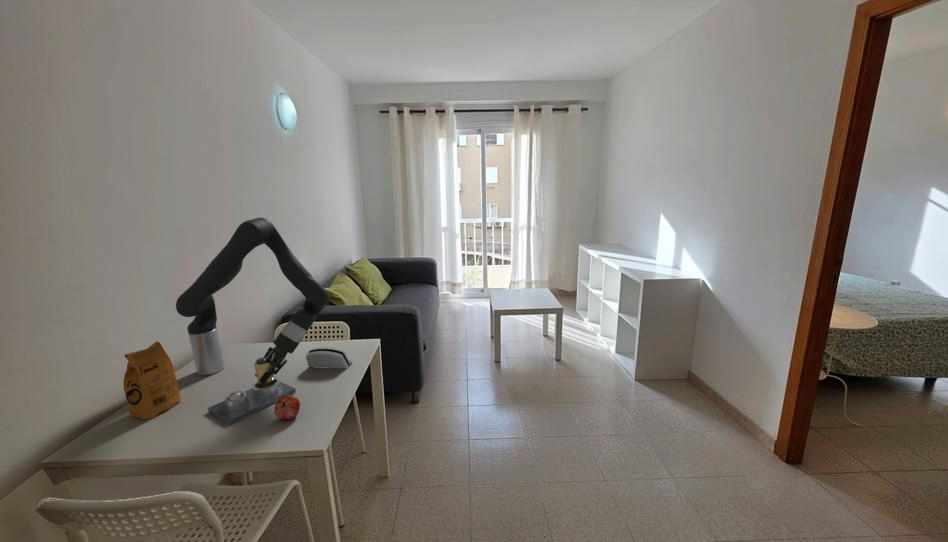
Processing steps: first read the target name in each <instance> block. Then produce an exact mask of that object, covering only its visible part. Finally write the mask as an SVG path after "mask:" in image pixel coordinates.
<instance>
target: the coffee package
mask: <svg viewBox="0 0 948 542" xmlns="http://www.w3.org/2000/svg"><path fill="white" fill-rule="evenodd" d="M124 358H125V359H126V360H127V361H128V362H127V363H126V364H127V365H126V370H125V372H124V377H123V380H122V382H123V391H124V395H125V399H126V401H127V402H126V403H127V408H128V411H129V415H131V417H133V418H138V419H142V420H151V419H153V418H156V417H157V416H158V415H159V414H160V413H163V412H166V411H169V410H171V409H172V408H173V407H175V406H176V405H177V404H178V403H180V402H181V395H180V390H179V386H178V385H179V384H178V380H177V375H176V373H175V369H174V365H173V363H172V360H171V357H169V355H168V353H167V352H166V351H165V349H164V347H163V346H162V344H161V342H160V341H156V342H155V341H154V342H153V344H151V345H149V346H148V347H147V348H145V349H142V350H138V351H132V352H129V353H125V354H124Z"/></svg>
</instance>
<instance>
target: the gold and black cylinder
mask: <svg viewBox="0 0 948 542" xmlns="http://www.w3.org/2000/svg"><path fill="white" fill-rule="evenodd" d="M269 361H270V359H268V358H267V357H264V356H263V357H260V358H257V359H256V360H255V363H254V370H255V374H256V376H257V377H256V376H255V377H256V381H257V382H258V387H259V388H266V387H270V386H272V385H274V384H275V382H274V377H275V376H274V374H273V375H271V376H270V378H269V379H268V380H267V382H266V383H265V384H263V383H261V382H259V379H260V378H261V377H262V375H263V374H264V373H265V371H266V370H267V368H268V366H269Z"/></svg>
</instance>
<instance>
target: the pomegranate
mask: <svg viewBox="0 0 948 542" xmlns="http://www.w3.org/2000/svg"><path fill="white" fill-rule="evenodd" d="M300 408H301V402H300V399H298V398H297V397H295V396H293V395H292V394H291V395H284V396H282V397H281V398H280V399H279V400H278V401H277V402H275V403H274V414H275V416H276V417H277V418H278V419H280V420H292V419H295V418H296V416H297V415H298V414H299V412H300Z"/></svg>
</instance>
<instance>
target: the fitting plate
mask: <svg viewBox="0 0 948 542" xmlns="http://www.w3.org/2000/svg"><path fill="white" fill-rule="evenodd" d="M274 382H275V384H274V385H272V386H270V387H266V388H259V387H258V382H257V380H256V381H255V382H254V383H253V384H252V385H251V388H249V389H248V390H245V391H242V390H236V391H233V392H231V393H229V395H228V396H227V397H225V400H223V401H221V402H219V403H217V404H214V405H211V406H210V407H208V408H207V413H208V414H210V415H212V416H214V417H216V418H217V419H219V420H220V421H222V422H224V423H225V424H227V425H228V426H232V425H233V424H235V423H237V422H239V421H241V420H243V419H245V418H247V417H249V416H251V415H253V414H255V413H257V412H259V411H262V410H263V409H265V408H267V407H270V406H271V405H273V404H276V401H278V400H279V399H280V398H281V397H282V396H284V395H290V394H291V395H292V393H293V394H295V393H296V392H297V391H296V387H293V386H291V385H288V384H286V383H284V382H282V381H281V378H279V377H278V376H274ZM294 392H295V393H294Z"/></svg>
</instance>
